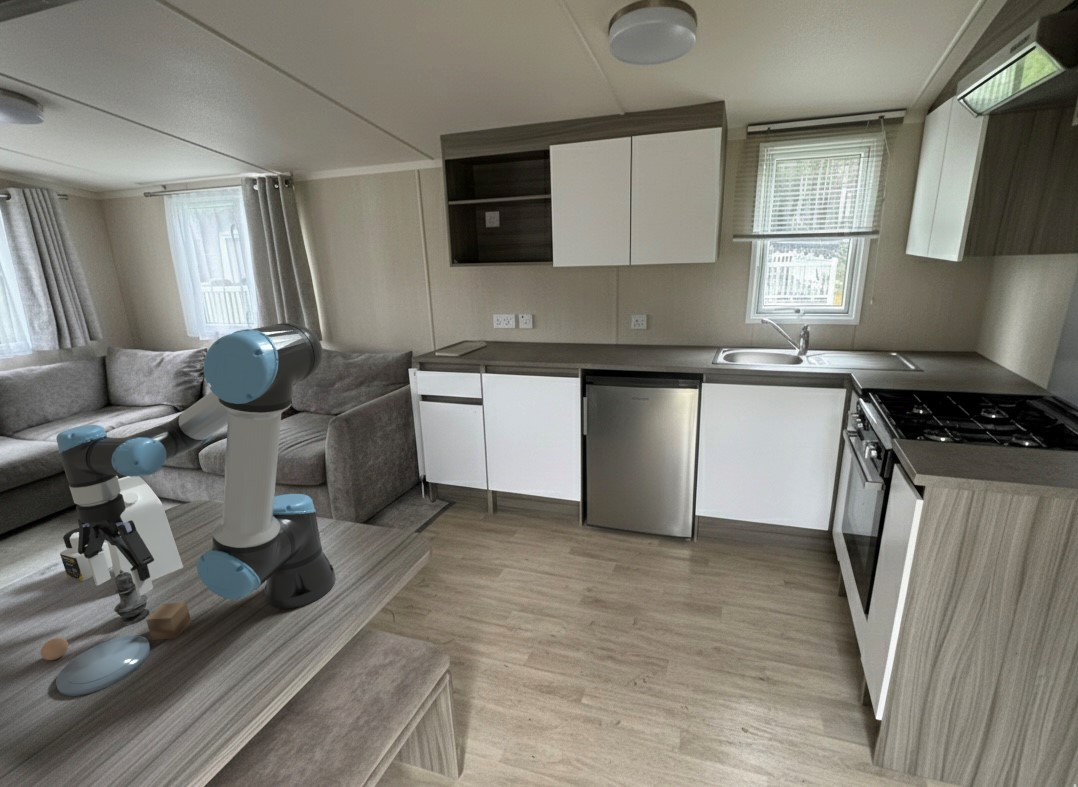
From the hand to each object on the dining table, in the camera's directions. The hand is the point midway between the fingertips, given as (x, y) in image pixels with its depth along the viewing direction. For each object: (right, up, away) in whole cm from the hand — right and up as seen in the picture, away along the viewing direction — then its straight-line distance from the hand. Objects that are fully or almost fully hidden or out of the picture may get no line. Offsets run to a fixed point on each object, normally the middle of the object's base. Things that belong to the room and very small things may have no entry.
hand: (124, 587), depth 111 cm
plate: (+7, -11, -12) cm, 18 cm away
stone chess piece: (+1, -8, +2) cm, 8 cm away
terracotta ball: (-6, -9, -10) cm, 14 cm away
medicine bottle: (-26, -4, +21) cm, 34 cm away
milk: (-10, -4, +20) cm, 22 cm away
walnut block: (+13, -8, -3) cm, 16 cm away
